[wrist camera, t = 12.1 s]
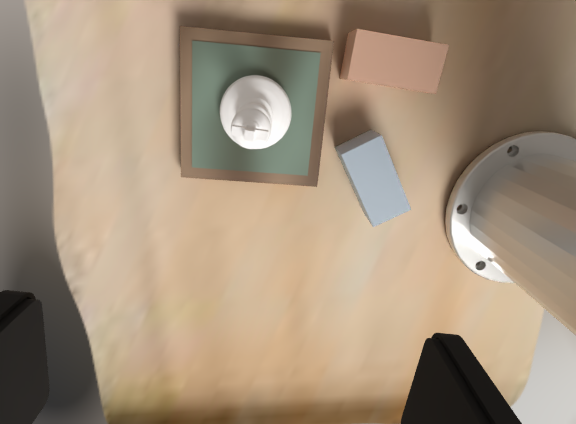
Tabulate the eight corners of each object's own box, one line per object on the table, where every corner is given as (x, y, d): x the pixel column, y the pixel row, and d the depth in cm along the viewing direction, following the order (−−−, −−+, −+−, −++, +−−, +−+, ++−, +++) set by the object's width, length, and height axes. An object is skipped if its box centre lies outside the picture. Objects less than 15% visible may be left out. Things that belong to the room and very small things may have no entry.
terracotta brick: (430, 47, 27) (449, 45, 25) (419, 91, 28) (436, 93, 26) (347, 33, 27) (357, 28, 24) (339, 78, 28) (347, 79, 25)
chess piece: (223, 69, 26) (198, 68, 16) (296, 81, 26) (312, 88, 17) (216, 142, 27) (189, 180, 18) (285, 153, 28) (294, 195, 18)
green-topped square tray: (331, 42, 27) (334, 40, 25) (315, 182, 30) (317, 186, 29) (183, 27, 26) (179, 25, 25) (184, 173, 29) (180, 177, 28)
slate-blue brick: (334, 146, 29) (341, 154, 27) (370, 129, 29) (381, 135, 26) (363, 213, 31) (373, 227, 29) (398, 197, 31) (411, 209, 28)
